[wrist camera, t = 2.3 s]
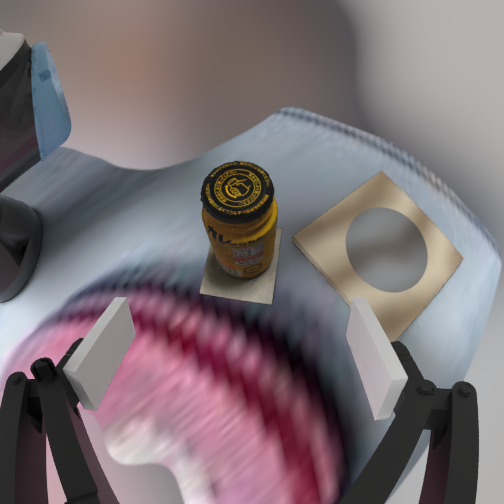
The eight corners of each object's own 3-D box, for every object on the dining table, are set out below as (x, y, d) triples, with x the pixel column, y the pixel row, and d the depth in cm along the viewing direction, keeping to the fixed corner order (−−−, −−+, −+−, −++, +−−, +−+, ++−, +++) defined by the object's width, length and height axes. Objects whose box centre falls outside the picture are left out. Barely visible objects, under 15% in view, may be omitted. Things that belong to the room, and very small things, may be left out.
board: (292, 240, 32) (293, 235, 31) (378, 176, 35) (381, 170, 34) (384, 348, 27) (389, 346, 26) (458, 261, 30) (463, 257, 29)
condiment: (281, 228, 33) (290, 156, 22) (271, 304, 30) (277, 261, 18) (216, 220, 33) (196, 148, 22) (200, 294, 30) (165, 245, 19)
